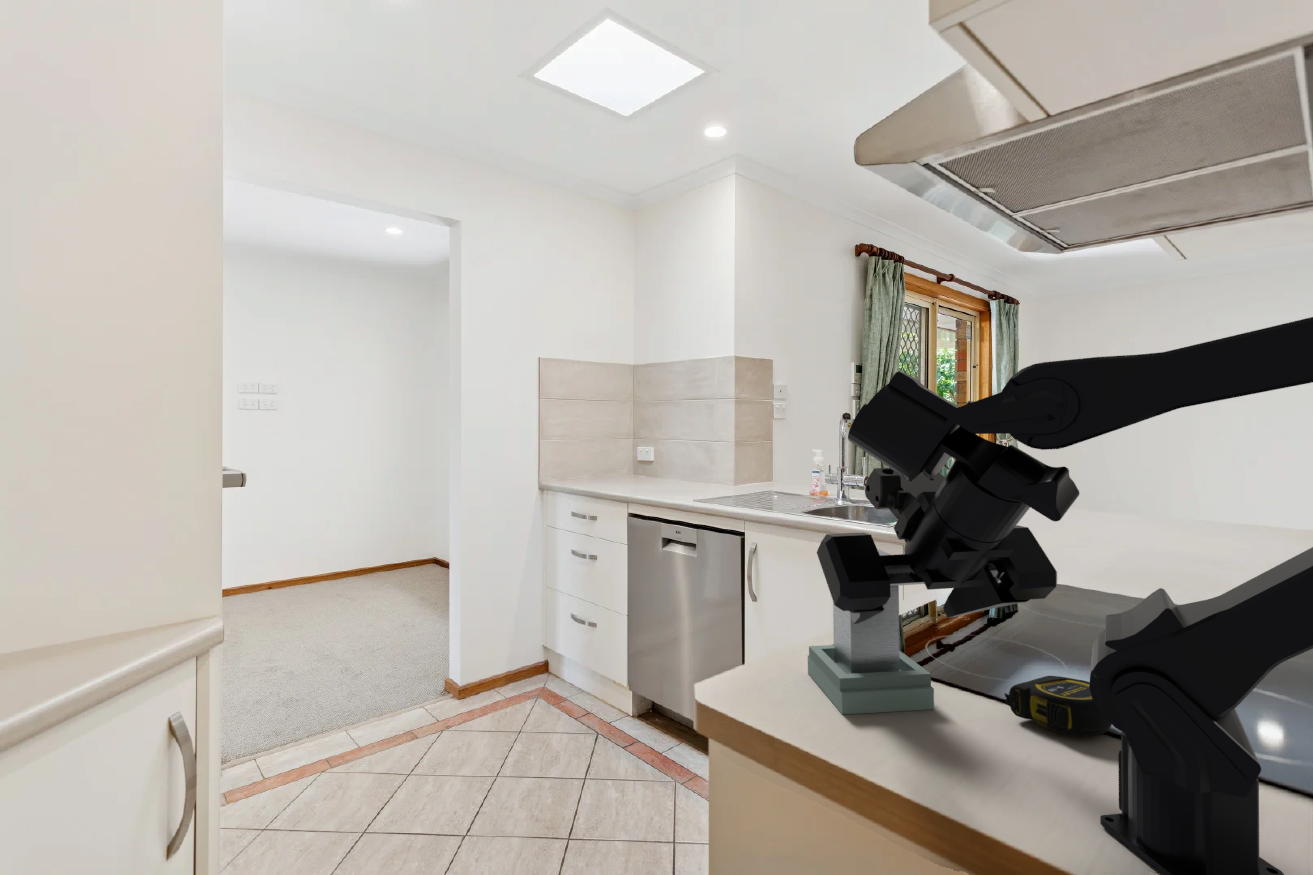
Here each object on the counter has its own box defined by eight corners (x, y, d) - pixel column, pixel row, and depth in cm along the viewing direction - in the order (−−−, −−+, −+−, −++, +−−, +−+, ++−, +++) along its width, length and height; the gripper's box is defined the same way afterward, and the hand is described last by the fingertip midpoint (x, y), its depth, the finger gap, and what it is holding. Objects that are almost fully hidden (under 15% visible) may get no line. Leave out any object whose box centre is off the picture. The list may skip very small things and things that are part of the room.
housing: (899, 677, 63) (898, 541, 62) (851, 680, 62) (849, 543, 62) (879, 661, 67) (877, 533, 67) (833, 663, 67) (832, 535, 66)
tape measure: (1053, 705, 61) (1053, 666, 61) (1131, 735, 55) (1130, 692, 55) (1004, 719, 58) (1004, 678, 58) (1080, 753, 52) (1079, 708, 52)
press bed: (933, 709, 60) (933, 675, 60) (842, 714, 59) (841, 680, 59) (887, 669, 70) (886, 640, 70) (807, 673, 69) (807, 644, 69)
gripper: (1030, 433, 54) (956, 539, 65) (822, 438, 52) (782, 548, 63) (1108, 539, 46) (1009, 640, 58) (869, 551, 44) (813, 654, 55)
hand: (900, 615), depth 58 cm, fingers open, 9 cm apart
